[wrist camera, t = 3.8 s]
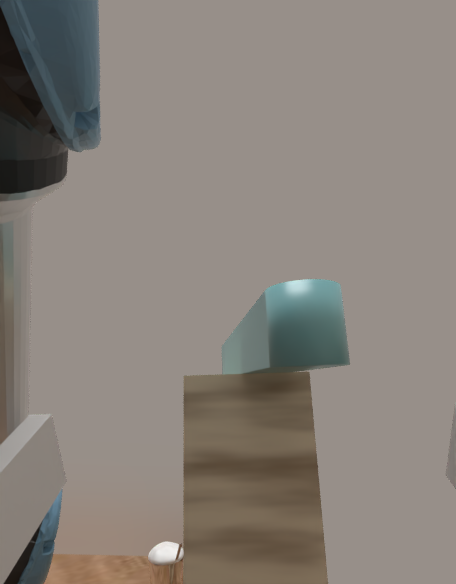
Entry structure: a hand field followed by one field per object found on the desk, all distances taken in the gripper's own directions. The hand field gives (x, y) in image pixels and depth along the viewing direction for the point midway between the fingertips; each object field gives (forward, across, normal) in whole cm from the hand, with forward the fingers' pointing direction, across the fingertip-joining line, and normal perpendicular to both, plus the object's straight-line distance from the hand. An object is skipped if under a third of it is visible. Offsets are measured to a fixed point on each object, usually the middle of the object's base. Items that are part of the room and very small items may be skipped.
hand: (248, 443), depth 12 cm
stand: (+8, 0, -36) cm, 37 cm away
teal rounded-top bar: (+18, +1, -8) cm, 20 cm away
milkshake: (+20, -12, -44) cm, 49 cm away
